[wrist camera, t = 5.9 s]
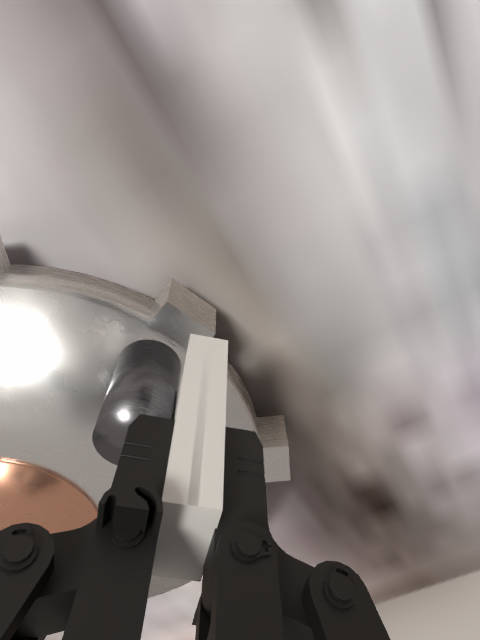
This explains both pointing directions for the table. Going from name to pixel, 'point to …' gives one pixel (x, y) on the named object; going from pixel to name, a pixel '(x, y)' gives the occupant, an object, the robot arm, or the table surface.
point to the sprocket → (95, 389)
